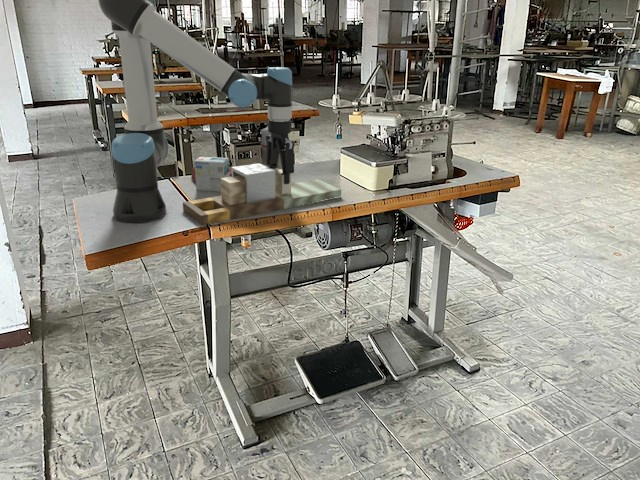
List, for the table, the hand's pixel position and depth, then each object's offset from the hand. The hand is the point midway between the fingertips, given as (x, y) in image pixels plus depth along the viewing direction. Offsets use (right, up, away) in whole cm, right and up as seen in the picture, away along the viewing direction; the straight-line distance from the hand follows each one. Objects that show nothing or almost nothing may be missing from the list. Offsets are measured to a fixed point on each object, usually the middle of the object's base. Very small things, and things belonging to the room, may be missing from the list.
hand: (279, 190), depth 171 cm
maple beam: (-7, -3, -4) cm, 9 cm away
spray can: (-5, +7, +27) cm, 28 cm away
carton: (-22, +7, +25) cm, 33 cm away
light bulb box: (-24, +2, +13) cm, 28 cm away
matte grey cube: (-8, -3, -5) cm, 10 cm away
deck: (-4, -5, -1) cm, 7 cm away
